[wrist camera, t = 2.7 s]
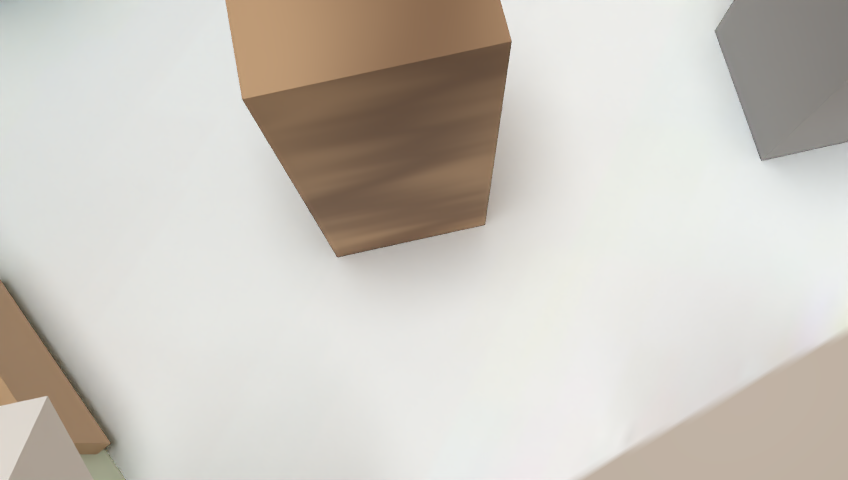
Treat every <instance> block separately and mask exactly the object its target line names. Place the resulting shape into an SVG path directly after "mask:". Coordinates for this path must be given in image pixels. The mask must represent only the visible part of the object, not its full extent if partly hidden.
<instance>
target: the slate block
mask: <svg viewBox="0 0 848 480" xmlns="http://www.w3.org/2000/svg"><path fill="white" fill-rule="evenodd" d="M715 32H716V35H717V38H718V41H719V44H720V46H721V49H722V52H723V55H724V58H725V60H726V63H727V66H728V69H729V72H730V74H731V77H732V80H733V83H734V86H735V88H736V91H737V94H738V97H739V99H740V102H741V105H742V108H743V111H744V113H745V116H746V119H747V122H748V125H749V127H750V130H751V133H752V136H753V139H754V141H755V144H756V147H757V150H758V153H759V155H760V158H761V161H762V160H767V159H771V158H776V157H780V156H785V155H789V154H794V153H798V152H803V151H808V150H812V149H817V148H821V147H826V146H830V145H835V144H839V143H844V142H848V0H734V1H733V3H732V4H731V6H730V8H729V9H728V11H727V12H726V14H725V15H724V17H723V19H722V20H721V22H720V23H719V25H718V27H717V28H716V30H715Z"/></svg>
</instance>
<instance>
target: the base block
mask: <svg viewBox="0 0 848 480" xmlns="http://www.w3.org/2000/svg"><path fill="white" fill-rule="evenodd" d="M44 396H48V397H49V399H50V401H51V403H52V405H53V407H54V408H55V410H56V412H57V414H58V416H59V417H60V419H61V421H62V423H63V425H64V427H65V428H66V430H67V432H68V434H69V436H70V438H71V439H72V441H73V443H74V445H75V447H76V448H77V450H78V452H79V454H80V456H81V458H82V459H83V461H84V463H85V465H86V467H87V469H88V470H89V472H90V474H91V476H92V478H93V479H94V480H125V478H124V477H123V475H122V474H121V472H120V471H119V469H118V468H117V466H116V465H115V463H114V462H113V460H112V459H111V457H110V456H109V454H108V453H107V451H106V450H105V448H106V447H107V446H108V445H110V444H111V443H110V441H109V440H108V438H107V437H106V435H105V434H104V432H103V431H102V429H101V428H100V427H99V425H98V424H97V422H96V421H95V419H94V418H93V416H92V415H91V413H90V412H89V410H88V409H87V407H86V406H85V404H84V403H83V401H82V400H81V398H80V397H79V395H78V394H77V393H76V391H75V390H74V388H73V387H72V385H71V384H70V382H69V381H68V379H67V378H66V376H65V375H64V373H63V372H62V370H61V369H60V367H59V366H58V364H57V363H56V361H55V360H54V359H53V357H52V356H51V354H50V353H49V351H48V350H47V348H46V347H45V345H44V344H43V342H42V341H41V339H40V338H39V336H38V335H37V333H36V332H35V330H34V329H33V327H32V326H31V325H30V323H29V322H28V320H27V319H26V317H25V316H24V314H23V313H22V311H21V310H20V308H19V307H18V305H17V304H16V302H15V301H14V299H13V298H12V296H11V295H10V293H9V292H8V291H7V289H6V288H5V286H4V285H3V283H2V282H1V280H0V406H2V405H7V404H12V403H16V402H21V401H26V400H30V399H35V398H40V397H44Z"/></svg>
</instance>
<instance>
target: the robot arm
mask: <svg viewBox="0 0 848 480" xmlns="http://www.w3.org/2000/svg"><path fill="white" fill-rule="evenodd" d="M0 480H94V479H93V478H92V476H91V474H90V472H89V470H88V469H87V467H86V465H85V463H84V461H83V459H82V458H81V456H80V454H79V452H78V450H77V448H76V447H75V445H74V443H73V441H72V439H71V438H70V436H69V434H68V432H67V430H66V428H65V427H64V425H63V423H62V421H61V419H60V417H59V416H58V414H57V412H56V410H55V408H54V407H53V405H52V403H51V401H50V399H49V397H48V396H44V397H40V398H35V399H30V400H26V401H21V402H16V403H12V404H7V405H2V406H0Z"/></svg>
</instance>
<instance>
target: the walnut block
mask: <svg viewBox="0 0 848 480" xmlns="http://www.w3.org/2000/svg"><path fill="white" fill-rule="evenodd" d="M226 6H227V12H228V18H229V24H230V30H231V36H232V42H233V48H234V53H235V59H236V65H237V71H238V77H239V83H240V89H241V95H242V100H243V101H244V103H245V105H246V106H247V108H248V110H249V111H250V113H251V115H252V116H253V118H254V120H255V121H256V123H257V125H258V126H259V128H260V129H261V131H262V133H263V134H264V136H265V138H266V139H267V141H268V143H269V144H270V146H271V148H272V149H273V151H274V153H275V154H276V156H277V158H278V159H279V161H280V163H281V164H282V166H283V168H284V169H285V171H286V173H287V174H288V176H289V178H290V179H291V181H292V183H293V184H294V186H295V188H296V189H297V191H298V193H299V194H300V196H301V198H302V199H303V201H304V202H305V204H306V206H307V207H308V209H309V211H310V212H311V214H312V216H313V217H314V219H315V221H316V222H317V224H318V226H319V227H320V229H321V231H322V232H323V234H324V236H325V237H326V239H327V241H328V242H329V244H330V246H331V247H332V249H333V251H334V252H335V254H336V256H337V257H341V256H345V255H350V254H354V253H359V252H364V251H368V250H373V249H377V248H382V247H386V246H391V245H395V244H400V243H404V242H409V241H414V240H418V239H423V238H427V237H432V236H436V235H441V234H445V233H450V232H454V231H459V230H463V229H468V228H473V227H477V226H482V225H485V221H486V214H487V207H488V200H489V193H490V186H491V179H492V172H493V166H494V159H495V152H496V145H497V138H498V131H499V124H500V117H501V111H502V104H503V97H504V90H505V83H506V76H507V69H508V63H509V56H510V49H511V42H512V41H511V37H510V34H509V30H508V27H507V23H506V19H505V16H504V12H503V9H502V5H501V1H500V0H226Z"/></svg>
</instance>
